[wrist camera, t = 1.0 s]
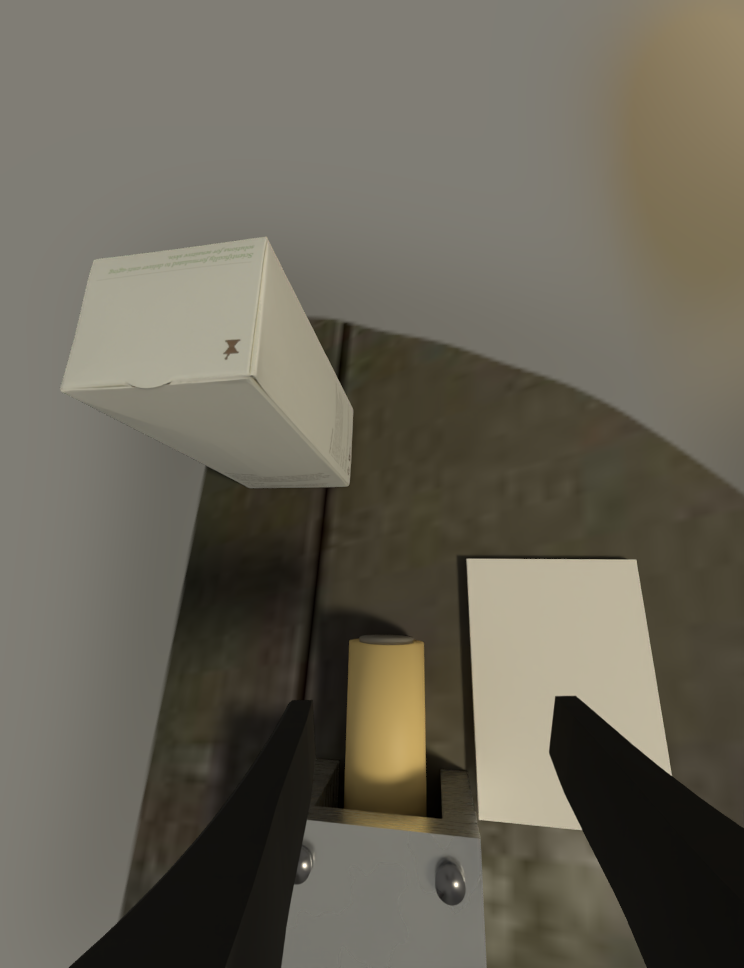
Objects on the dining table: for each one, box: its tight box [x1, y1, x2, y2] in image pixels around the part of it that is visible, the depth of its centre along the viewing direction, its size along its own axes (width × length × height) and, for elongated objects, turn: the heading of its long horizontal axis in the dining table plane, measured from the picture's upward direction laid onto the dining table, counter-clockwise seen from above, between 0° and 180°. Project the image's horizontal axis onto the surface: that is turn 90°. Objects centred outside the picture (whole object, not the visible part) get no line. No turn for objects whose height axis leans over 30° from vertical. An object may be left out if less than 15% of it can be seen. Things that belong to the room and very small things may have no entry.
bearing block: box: [281, 759, 487, 968], centre depth 19 cm, size 8×9×7 cm
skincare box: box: [60, 237, 353, 488], centre depth 22 cm, size 8×7×16 cm
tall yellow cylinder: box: [344, 634, 427, 818], centre depth 22 cm, size 10×4×4 cm, turn 179°
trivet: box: [466, 559, 672, 830], centre depth 23 cm, size 14×10×1 cm
